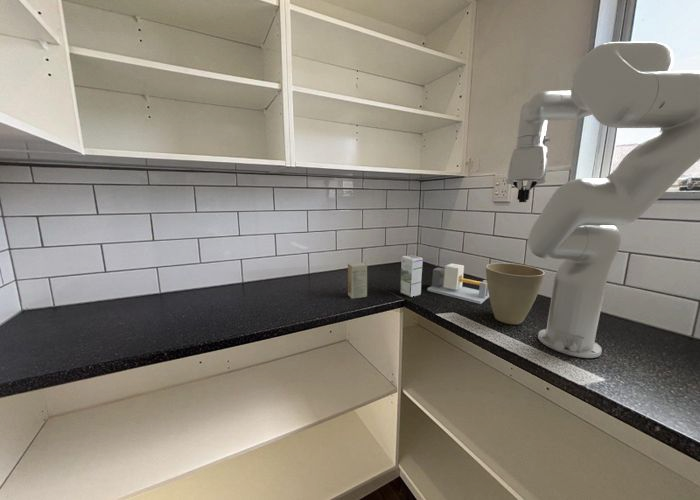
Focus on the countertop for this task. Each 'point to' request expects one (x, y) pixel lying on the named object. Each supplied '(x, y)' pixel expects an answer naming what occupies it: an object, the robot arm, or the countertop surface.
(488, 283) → the plant pot
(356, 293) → the skincare box
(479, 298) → the grey rod holder
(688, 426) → the countertop surface
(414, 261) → the syrup box
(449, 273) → the slotted white cube
